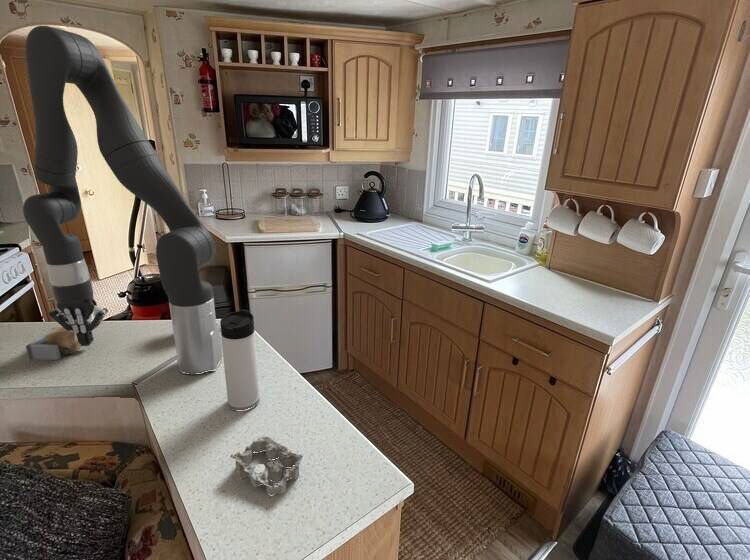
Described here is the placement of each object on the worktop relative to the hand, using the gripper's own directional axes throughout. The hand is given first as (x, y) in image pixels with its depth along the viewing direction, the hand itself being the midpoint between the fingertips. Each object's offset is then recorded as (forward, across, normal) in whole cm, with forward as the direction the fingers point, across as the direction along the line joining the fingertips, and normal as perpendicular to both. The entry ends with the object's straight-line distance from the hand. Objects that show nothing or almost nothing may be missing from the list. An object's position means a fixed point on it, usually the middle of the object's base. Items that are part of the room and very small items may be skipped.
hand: (86, 344), depth 103 cm
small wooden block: (+2, +5, 0) cm, 5 cm away
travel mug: (+3, -43, +20) cm, 48 cm away
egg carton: (+3, -52, +38) cm, 65 cm away
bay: (+1, +7, 0) cm, 7 cm away
